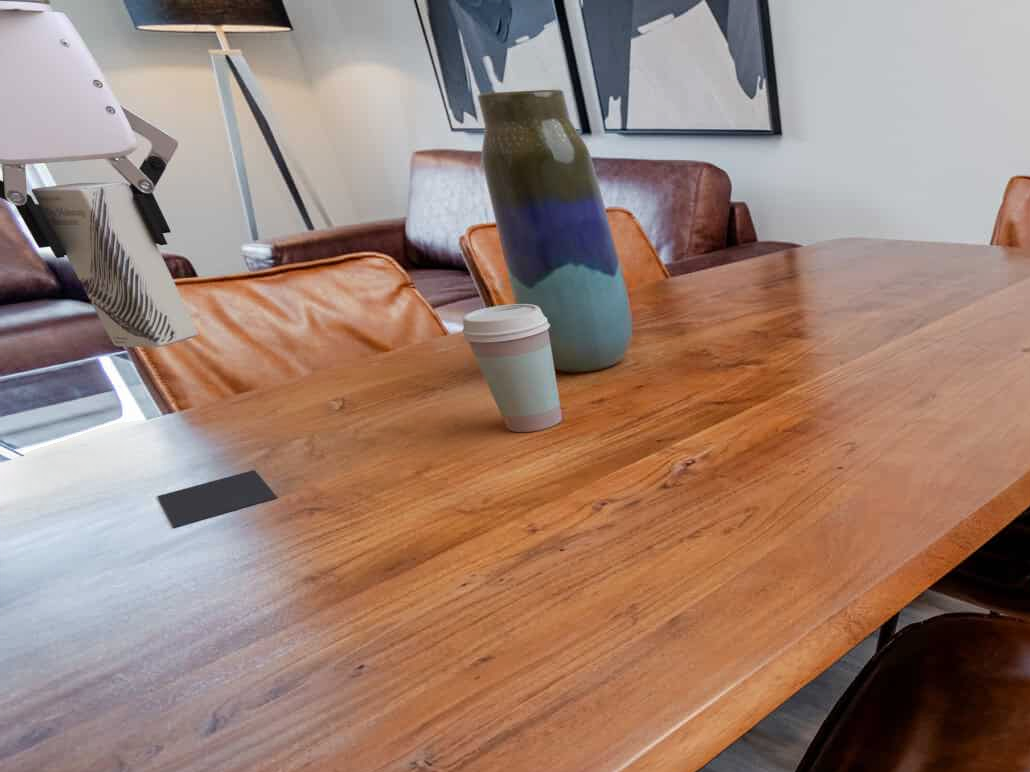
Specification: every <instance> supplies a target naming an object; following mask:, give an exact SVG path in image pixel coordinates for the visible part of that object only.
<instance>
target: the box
mask: <svg viewBox="0 0 1030 772" xmlns="http://www.w3.org/2000/svg"><path fill="white" fill-rule="evenodd" d="M129 186H130V184H128V183H126V182H122V181H119V182H118V181H116V182H76V183H69V184H68V183H67V184H61V185H52V186H51V185H50V186H42V187H35V188H32V189H31V192H32V194H33V196H34V198H35V200H36V201H37V204H39V205H40V207H41V208H42V210H43V212H44V214H45V216H46V218H47V219H48V221H49V223H50V225H51V227H52V228H53V230H54V232H55V234H56V236H57V238H58V239H59V241H60V243H61V245H62V247H63V249H64V250H65V252H66V254H67V255H65V257H66V258H67V260H68V262H69V263H70V266H71V267H72V269H73V271H74V273H75V275H76V277H77V278H78V281H79V282H80V284H81V286H82V288H83V289H84V291H85V293H86V295H87V298H88V299H89V301H90V303H91V305H92V307H93V309H94V311H95V312H96V314H97V316H98V318H99V320H100V322H101V323H102V326H103V327H104V330H105V331H106V333H107V335H108V337H109V339H110V341H111V342H112V345H113V346H115V347H127V348H129V347H131V348H162V347H164V346H165V347H166V346H169V345H171V344H174V343H178V342H181V341H185V340H189V339H191V338H192V339H193V338H195V337H196V336H198V335H200V334H199V331H198V329H197V326H196V325H195V322H194V320H193V319H192V316H191V314H190V312H189V310H188V308H187V306H186V304H185V301H184V300H183V298H182V295H181V293H180V292H179V289H178V287H177V285H176V282H175V281H174V278H173V277H172V274H171V272H170V270H169V268H168V266H167V264H166V262H165V259H164V258H163V256H162V253H161V251H160V250H159V247H158V244H156V243H155V241H154V239H153V236H152V234H151V232H150V230H149V228H148V226H147V224H146V222H145V220H144V218H143V216H142V214H141V212H140V210H139V208H138V205H137V203H136V201H135V199H134V197H133V194H132V191H131V189H130V187H129Z"/></svg>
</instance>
